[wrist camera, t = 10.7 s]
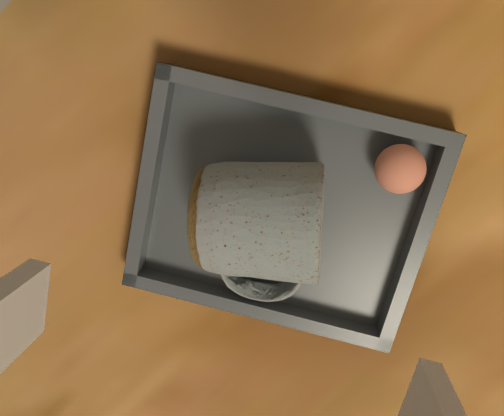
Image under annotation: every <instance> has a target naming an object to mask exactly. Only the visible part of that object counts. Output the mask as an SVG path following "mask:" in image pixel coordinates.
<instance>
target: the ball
mask: <svg viewBox="0 0 504 416" xmlns="http://www.w3.org/2000/svg"><path fill="white" fill-rule="evenodd" d="M426 170H427V166H426V161H425V159H424V157H423V155H422V154H421V152H420V151H419V150H417V149H416V148H415V147H413V146H410V145H407V144H395V145H392V146H389V147H388V148H386V149H384V150H383V151H382V152H381V153H380V154H379V156H378V157H377V159H376V162H375V167H374V173H375V177H376V180H377V181H378V183H379V184H380V186H381V187H382V188H384V189H385V190H387V191H389V192H391V193H395V194H405V193H409V192H411V191H413V190H415V189H416V188H418V187H419V186H420V184H421V183H422V182H423V180H424V178H425V175H426Z"/></svg>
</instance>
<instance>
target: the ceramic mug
mask: <svg viewBox="0 0 504 416" xmlns="http://www.w3.org/2000/svg"><path fill="white" fill-rule="evenodd" d="M324 174H325V166H324V164H323V163H321V162H220V163H213V164H209V165H206V166H204V167H203V168H202V169H201V170H200V171H199V172H198V173H197V175H196V176H195V178H194V181H193V183H192V186H191V190H190V195H189V201H188V209H187V237H188V245H189V251H190V254H191V257H192V259H193V261H194V262H195V263H196V265H197V266H198V267H199V268H201V269H203V270H205V271H208V272H212V273H216V274H221V277H222V279H223V281H224V282H225V284H226V285H227V287H228V288H230V289H231V290H232V291H234V292H235V293H237V294H239V295H240V296H243V297H245V298H248V299H252V300H256V301H263V302H274V301H280V300H284V299H286V298H288V297H290V296H292V295H293V294H294V293H295V292H296V291H297V290H298V289H299V288H300V286H301V284H309V285H315V284H318V283H319V281H320V261H321V238H322V218H323V205H324ZM242 277H253V278H260V279H267V280H275V281H283V283H278V284H270V283H263V282H257V281H252V280H248V279H244V278H242Z"/></svg>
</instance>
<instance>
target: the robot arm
mask: <svg viewBox="0 0 504 416" xmlns="http://www.w3.org/2000/svg"><path fill="white" fill-rule="evenodd" d="M50 269H51V264H50V263H46V262H43V261H39V260H35V259H31V258H30V259H29V260H27V261H26V262H24V263H23V264H21V265H20V266H18V267H17V268H15V269H14V270H12V271H11V272H9V273H8V274H6V275H5V276H3V277H2V278H0V374H1V373H2V372H3V371H4V370H5V369H6V368H7V367H8V366H9V365H10V364H11V363H12V362H13V361H14V360H15V359H16V358H17V357H18V356H19V355H20V354H21V353H22V352H23V351H24V350H25V349H26V348H27V347H28V346H29V345H30V344H31V343H32V342H33V341H34V340H35V339H36V338H37V337H39V336H40V335H41V334H42V333H43V332H44V326H45V316H46V307H47V298H48V288H49V279H50ZM398 416H467V415H466V413H465V411H464V409H463V406H462V404H461V402H460V400H459V398H458V396H457V394H456V392H455V390H454V388H453V386H452V383H451V381H450V379H449V377H448V375H447V373H446V371H445V369H444V367H443V365H442V363H438V362H434V361H430V360H426V359H422V358H419V361H418V364H417V366H416V369H415V372H414V374H413V377H412V380H411V382H410V385H409V388H408V390H407V393H406V395H405V398H404V401H403V403H402V406H401V409H400V411H399V414H398Z"/></svg>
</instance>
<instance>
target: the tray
mask: <svg viewBox="0 0 504 416" xmlns="http://www.w3.org/2000/svg"><path fill="white" fill-rule="evenodd" d="M466 136H467V135H465V134H462V133H459V132H457V131H453V130H449V129H444V128H440V127H436V126H432V125H427V124H423V123H419V122H415V121H410V120H406V119H402V118H398V117H393V116H389V115H385V114H381V113H376V112H372V111H368V110H364V109H359V108H355V107H351V106H347V105H342V104H338V103H334V102H330V101H325V100H321V99H317V98H313V97H308V96H304V95H300V94H296V93H291V92H287V91H283V90H278V89H274V88H270V87H266V86H261V85H257V84H253V83H249V82H244V81H240V80H236V79H232V78H227V77H223V76H219V75H215V74H210V73H206V72H202V71H198V70H193V69H189V68H185V67H181V66H176V65H172V64H168V63H160V62H157V63H156V70H155V76H154V82H153V89H152V95H151V102H150V108H149V114H148V121H147V127H146V134H145V140H144V146H143V153H142V159H141V166H140V172H139V178H138V185H137V191H136V198H135V204H134V210H133V217H132V223H131V230H130V236H129V242H128V249H127V255H126V262H125V268H124V274H123V281H122V285H126V286H130V287H134V288H138V289H142V290H146V291H150V292H153V293H157V294H161V295H165V296H169V297H173V298H177V299H181V300H184V301H188V302H192V303H196V304H200V305H204V306H208V307H212V308H215V309H219V310H223V311H227V312H231V313H235V314H239V315H243V316H247V317H250V318H254V319H258V320H262V321H266V322H270V323H274V324H278V325H281V326H285V327H289V328H293V329H297V330H301V331H305V332H309V333H313V334H316V335H320V336H324V337H328V338H332V339H336V340H340V341H344V342H347V343H351V344H355V345H359V346H363V347H367V348H371V349H375V350H378V351H382V352H386V353H389V352H390V349H391V346H392V343H393V341H394V338H395V335H396V332H397V329H398V327H399V324H400V321H401V318H402V315H403V312H404V310H405V307H406V304H407V301H408V298H409V296H410V293H411V290H412V287H413V284H414V282H415V279H416V276H417V273H418V270H419V268H420V265H421V262H422V259H423V256H424V254H425V251H426V248H427V245H428V242H429V239H430V237H431V234H432V231H433V228H434V225H435V223H436V220H437V217H438V214H439V211H440V209H441V206H442V203H443V200H444V197H445V195H446V192H447V189H448V186H449V183H450V181H451V178H452V175H453V172H454V169H455V166H456V164H457V161H458V158H459V155H460V152H461V150H462V147H463V144H464V141H465V138H466ZM395 144H407V145H410V146H413V147H415V148H416V149H417V150H419V151H420V152H421V154H422V155H423V157H424V159H425V161H426V166H427V170H426V175H425V178H424V180H423V182H422V183H421V184H420V186H419V187H418V188H416V189H415V190H413V191H411V192H409V193H405V194H395V193H391V192H389V191H387V190H385V189H384V188H382V187H381V186H380V184H379V183H378V181H377V180H376V177H375V173H374V167H375V162H376V159H377V157H378V156H379V154H380V153H381V152H382V151H383V150H384V149H386V148H388V147H389V146H392V145H395ZM220 162H321V163H323V164H324V166H325V174H324V205H323V218H322V238H321V261H320V281H319V283H318V284H315V285H309V284H301V286H300V288H299V289H298V290H297V291H296V292H295V293H294V294H293V295H292V296H290V297H288V298H286V299H284V300H280V301H274V302H263V301H256V300H252V299H248V298H245V297H243V296H240V295H239V294H237V293H235V292H234V291H232V290H231V289H230V288H228V287H227V285H226V284H225V282H224V281H223V279H222V277H221V274H216V273H212V272H208V271H205V270H203V269H201V268H199V267H198V266H197V265H196V263H195V262H194V261H193V259H192V257H191V254H190V251H189V245H188V237H187V209H188V201H189V195H190V190H191V186H192V183H193V181H194V178H195V176H196V175H197V173H198V172H199V171H200V170H201V169H202V168H203V167H204V166H206V165H209V164H213V163H220ZM242 278H244V279H248V280H252V281H257V282H263V283H270V284H278V283H283V281H275V280H267V279H260V278H253V277H242Z"/></svg>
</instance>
